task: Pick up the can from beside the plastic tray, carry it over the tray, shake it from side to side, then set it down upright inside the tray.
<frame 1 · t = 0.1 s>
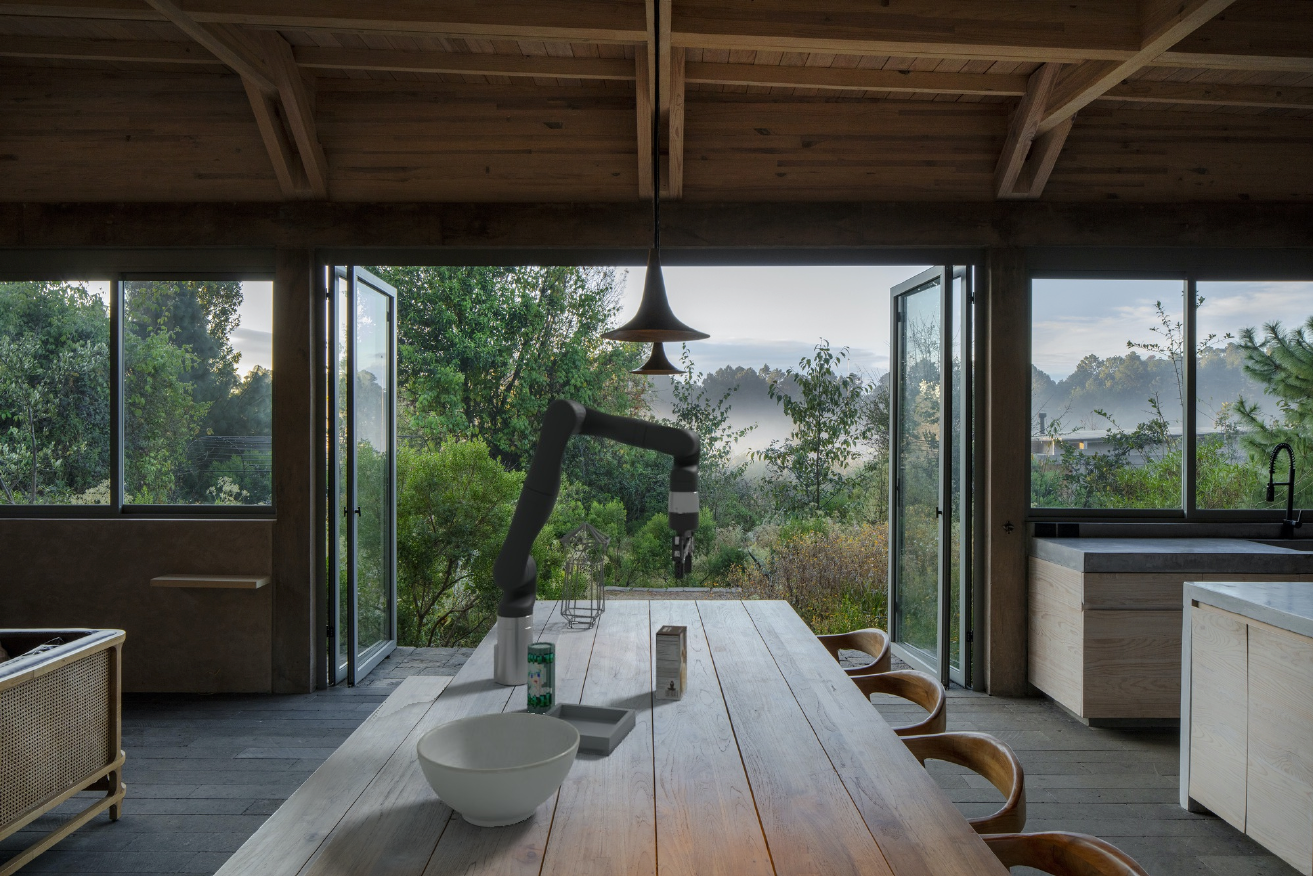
hand: (683, 575, 201), 29 cm above the table, tool pointing down, fingers open, 8 cm apart
decorative bowl: (499, 811, 137), on the table
tray: (582, 735, 173), on the table
coffee box: (671, 695, 202), on the table
can: (541, 711, 189), on the table
geometric lantern: (585, 626, 278), on the table
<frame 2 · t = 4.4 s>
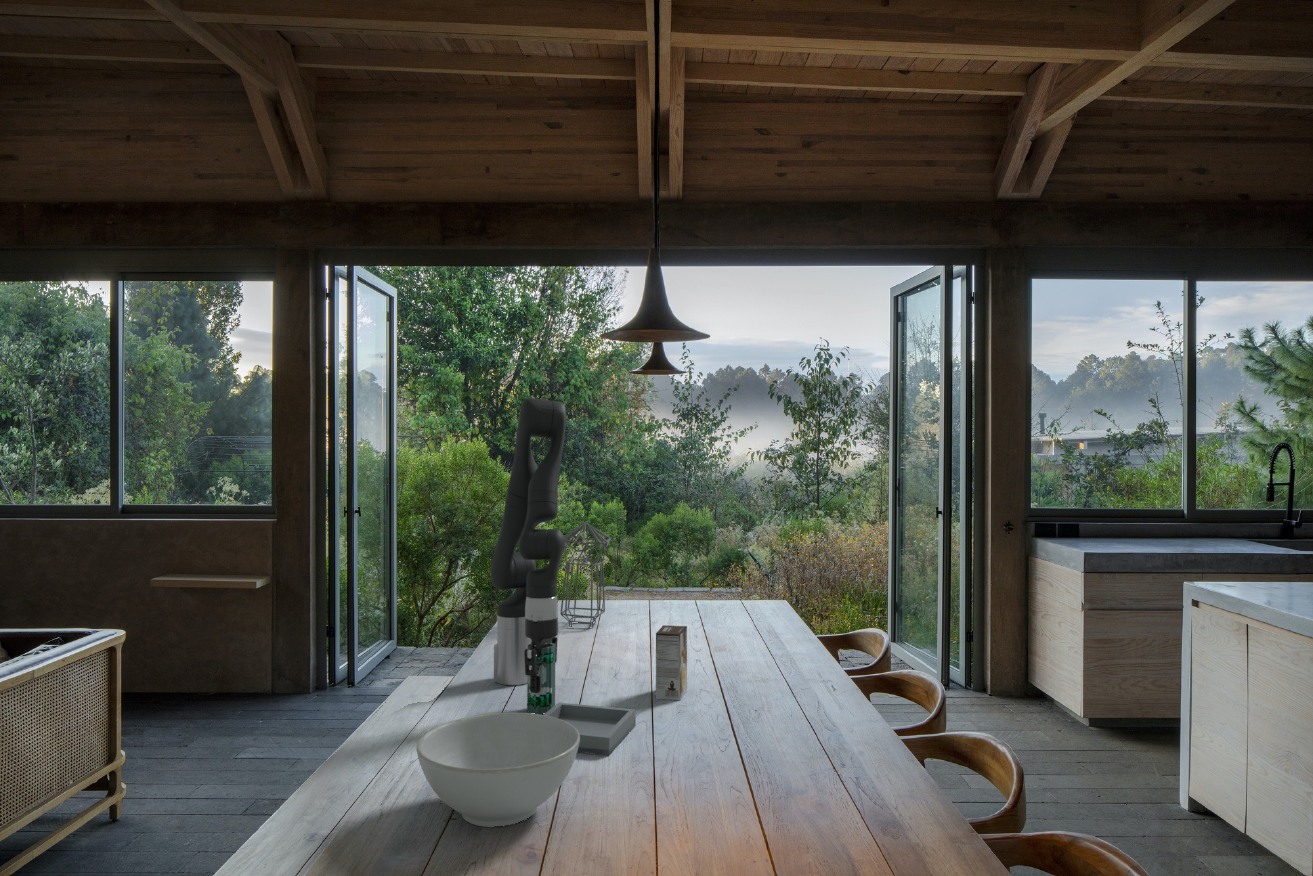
hand: (541, 687, 189), 5 cm above the table, tool pointing down, fingers closed on can, 6 cm apart
can: (541, 711, 189), on the table, touching gripper
everything else where it was.
when the fingers open (7 cm above the table, at t = 11.9 s): can drops 1 cm, resting on tray.
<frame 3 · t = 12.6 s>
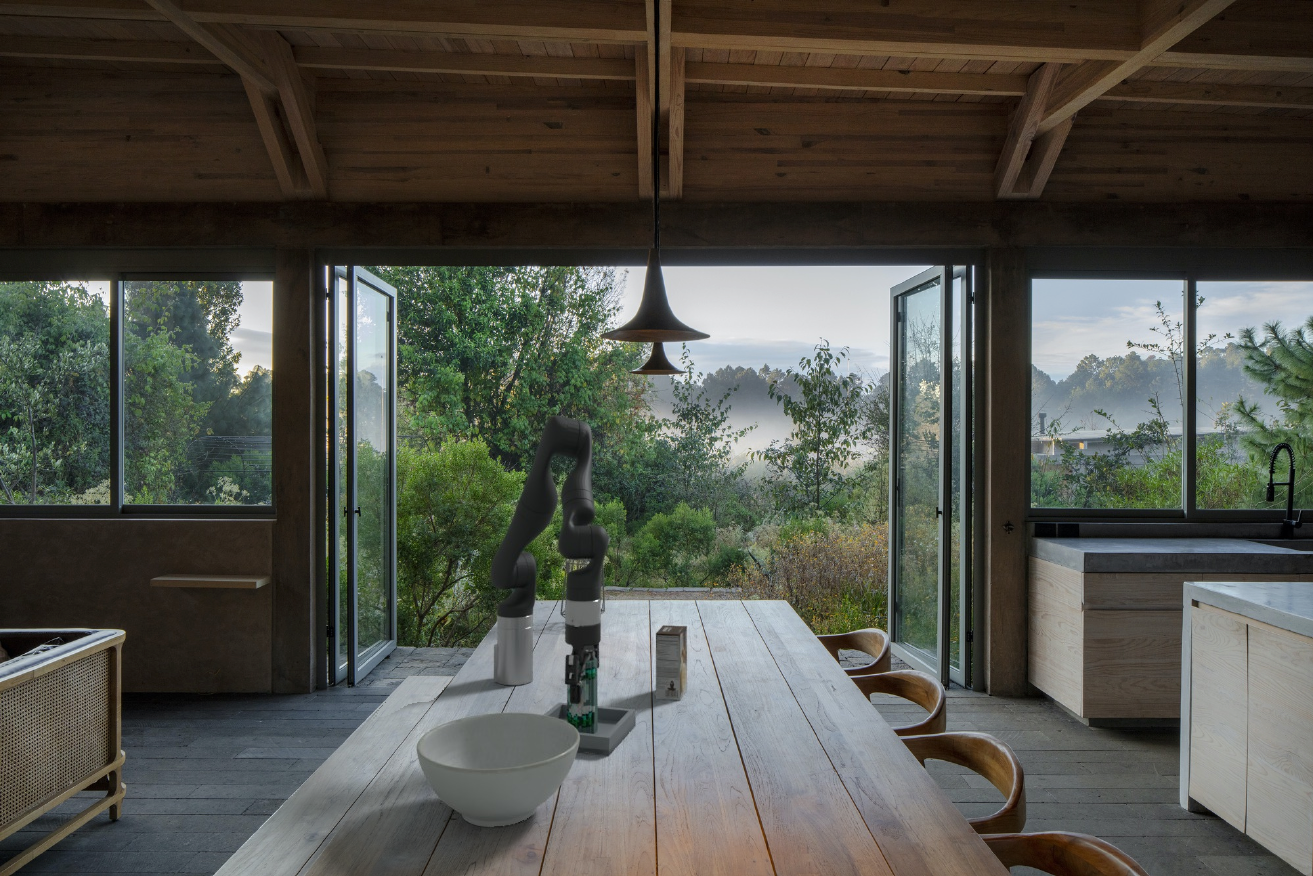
hand: (582, 697, 173), 8 cm above the table, tool pointing down, fingers open, 8 cm apart
can: (582, 731, 173), point 1 cm above the table, touching tray
everything else where it was.
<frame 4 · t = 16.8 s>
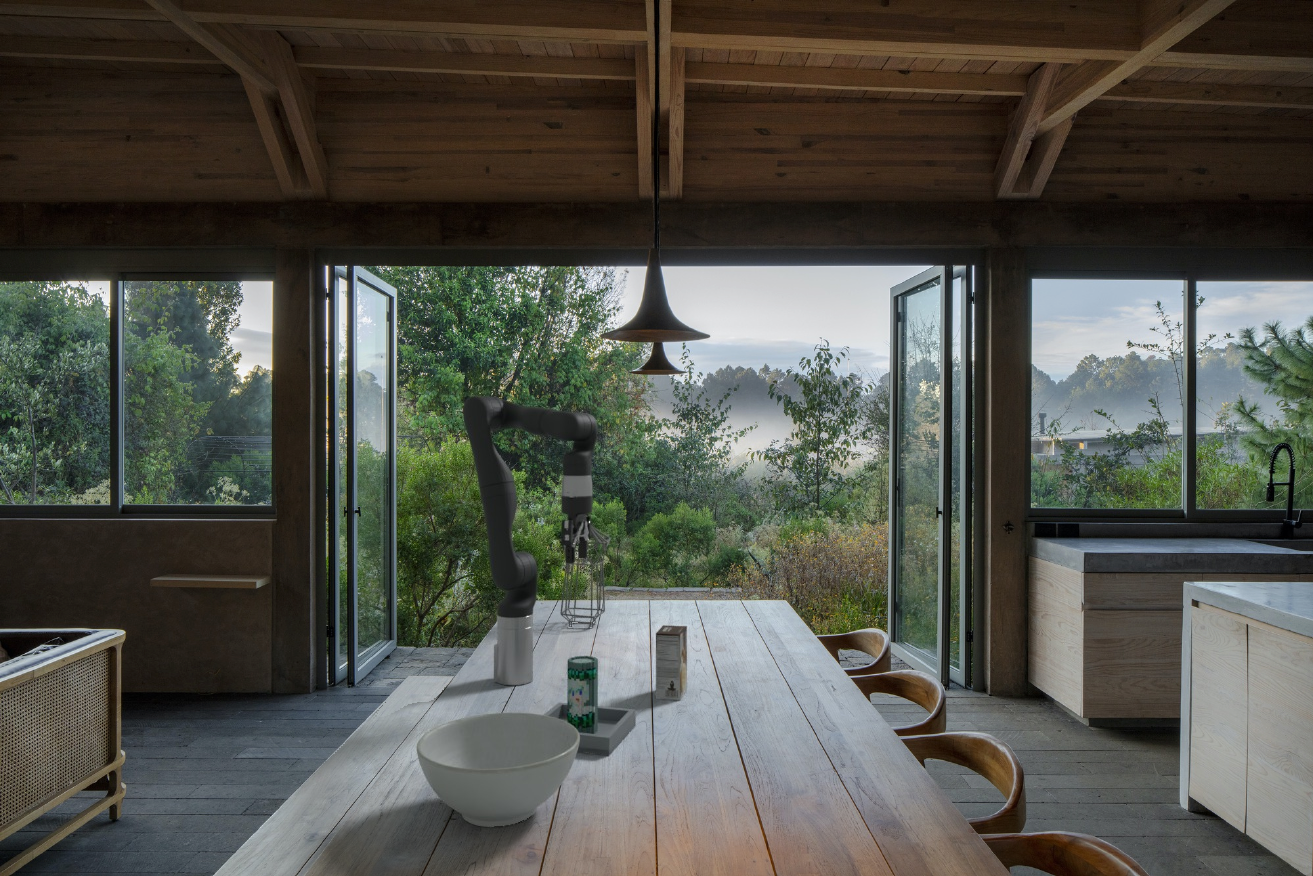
hand: (576, 560, 200), 33 cm above the table, tool pointing down, fingers open, 8 cm apart
nothing on the table moved.
at the end: can inside the target area on the tray (0.0 cm from its centre), point 0.8 cm above the tray's base; can tilted 0°; the gripper is holding nothing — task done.
